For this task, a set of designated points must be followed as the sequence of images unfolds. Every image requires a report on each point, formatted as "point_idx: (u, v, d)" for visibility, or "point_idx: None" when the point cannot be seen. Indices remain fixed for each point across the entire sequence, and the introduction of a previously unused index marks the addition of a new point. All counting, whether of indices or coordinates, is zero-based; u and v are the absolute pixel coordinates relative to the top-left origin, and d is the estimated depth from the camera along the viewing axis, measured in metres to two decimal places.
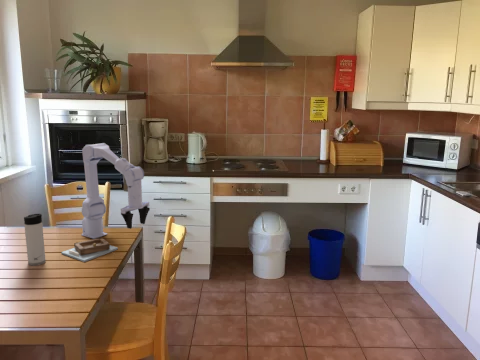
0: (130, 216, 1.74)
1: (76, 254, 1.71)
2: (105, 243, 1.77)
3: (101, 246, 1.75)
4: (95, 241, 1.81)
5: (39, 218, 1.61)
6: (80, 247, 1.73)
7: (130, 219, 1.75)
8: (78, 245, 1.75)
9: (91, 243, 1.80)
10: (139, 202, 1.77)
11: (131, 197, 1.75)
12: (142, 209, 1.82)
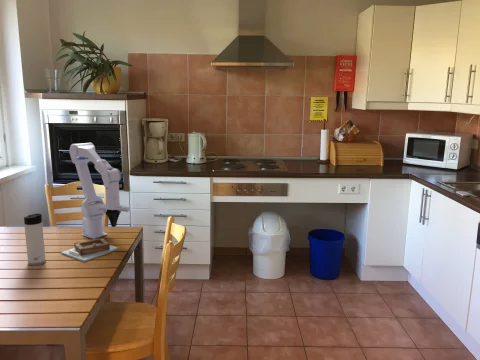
0: None
1: (76, 254, 1.71)
2: (105, 243, 1.77)
3: (101, 246, 1.75)
4: (95, 241, 1.81)
5: (39, 218, 1.61)
6: (80, 247, 1.73)
7: None
8: (78, 245, 1.75)
9: (91, 243, 1.80)
10: None
11: None
12: None
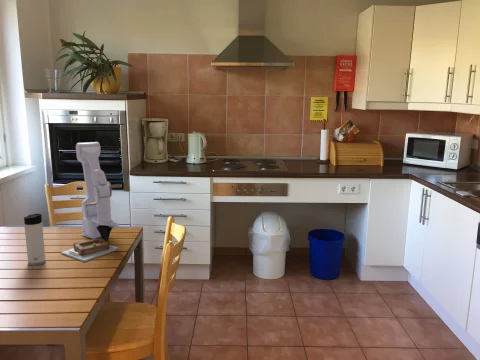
0: None
1: (76, 254, 1.71)
2: (105, 243, 1.78)
3: (101, 246, 1.75)
4: (94, 241, 1.81)
5: (39, 218, 1.61)
6: (80, 247, 1.72)
7: None
8: (78, 245, 1.74)
9: (90, 243, 1.80)
10: None
11: (110, 212, 1.81)
12: None
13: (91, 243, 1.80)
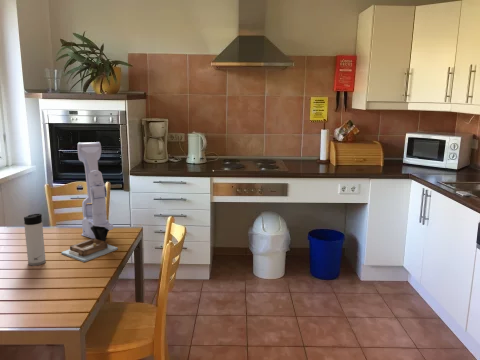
0: None
1: (76, 254, 1.71)
2: (103, 242, 1.78)
3: (100, 245, 1.76)
4: (89, 242, 1.80)
5: (39, 218, 1.61)
6: (81, 249, 1.71)
7: None
8: (76, 247, 1.72)
9: (85, 244, 1.79)
10: None
11: (105, 213, 1.80)
12: (99, 227, 1.83)
13: (86, 244, 1.79)
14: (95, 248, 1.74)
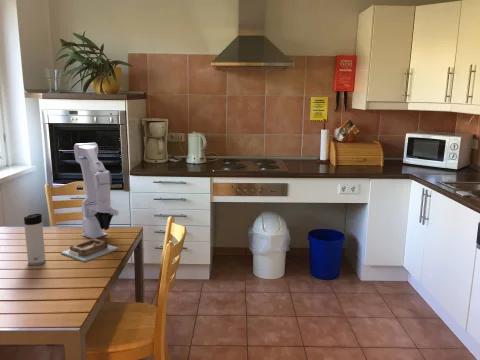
0: None
1: (76, 254, 1.71)
2: (103, 242, 1.78)
3: (100, 245, 1.76)
4: (89, 242, 1.80)
5: (39, 218, 1.61)
6: (81, 249, 1.71)
7: None
8: (76, 247, 1.72)
9: (85, 244, 1.79)
10: None
11: (109, 199, 1.80)
12: (103, 214, 1.82)
13: (86, 244, 1.79)
14: (95, 248, 1.74)
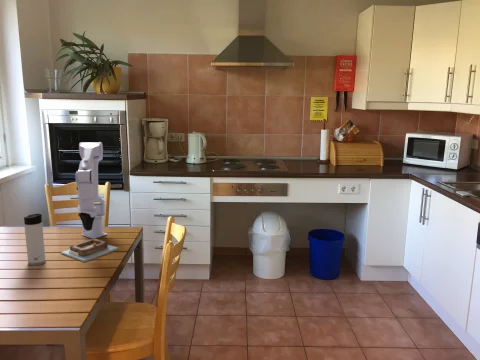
0: None
1: (76, 254, 1.71)
2: (103, 242, 1.78)
3: (100, 245, 1.76)
4: (89, 242, 1.80)
5: (39, 218, 1.61)
6: (81, 249, 1.71)
7: None
8: (76, 247, 1.72)
9: (85, 244, 1.79)
10: None
11: (90, 199, 1.71)
12: None
13: (86, 244, 1.79)
14: (95, 248, 1.74)
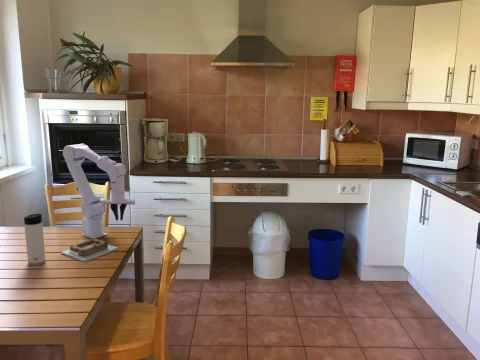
0: None
1: (76, 254, 1.71)
2: (103, 242, 1.78)
3: (100, 245, 1.76)
4: (89, 242, 1.80)
5: (39, 218, 1.61)
6: (81, 249, 1.71)
7: None
8: (76, 247, 1.72)
9: (85, 244, 1.79)
10: None
11: (124, 190, 1.87)
12: (116, 205, 1.88)
13: (86, 244, 1.79)
14: (95, 248, 1.74)
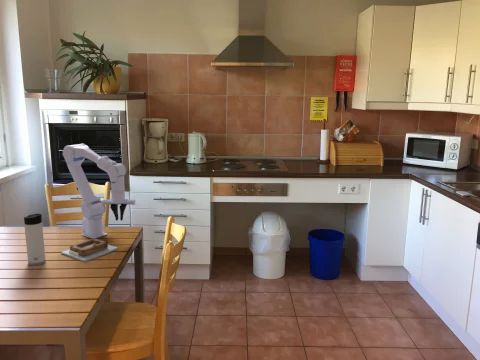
0: None
1: (76, 254, 1.71)
2: (103, 242, 1.78)
3: (100, 245, 1.76)
4: (89, 242, 1.80)
5: (39, 218, 1.61)
6: (81, 249, 1.71)
7: None
8: (76, 247, 1.72)
9: (85, 244, 1.79)
10: None
11: (124, 190, 1.87)
12: (116, 205, 1.88)
13: (86, 244, 1.79)
14: (95, 248, 1.74)
